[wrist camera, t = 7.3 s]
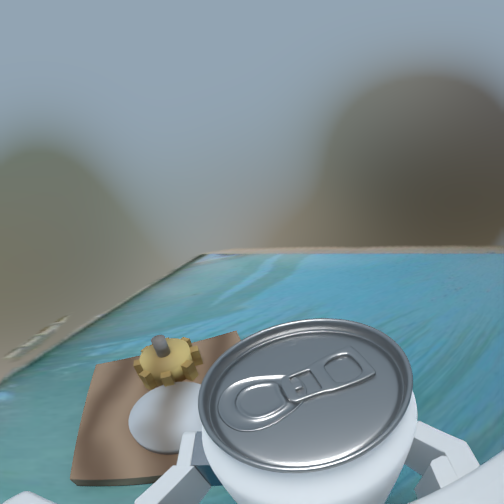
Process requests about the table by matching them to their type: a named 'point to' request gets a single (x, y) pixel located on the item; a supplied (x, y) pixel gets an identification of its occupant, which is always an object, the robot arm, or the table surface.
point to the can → (309, 414)
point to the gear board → (143, 411)
